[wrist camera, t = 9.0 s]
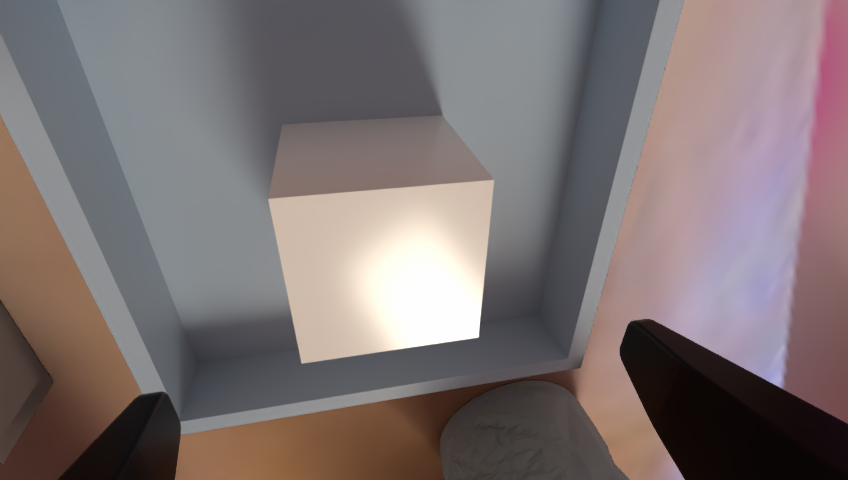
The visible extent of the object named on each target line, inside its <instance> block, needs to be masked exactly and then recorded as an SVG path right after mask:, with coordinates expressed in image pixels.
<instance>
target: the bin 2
mask: <svg viewBox="0 0 848 480" xmlns="http://www.w3.org/2000/svg"><path fill="white" fill-rule="evenodd" d="M683 3H684V0H0V115H1V117H2V119H3V121H4V123H5V125H6V127H7V129H8V131H9V133H10V135H11V137H12V139H13V141H14V143H15V144H16V146H17V148H18V150H19V152H20V154H21V156H22V158H23V160H24V162H25V164H26V166H27V168H28V170H29V172H30V174H31V176H32V178H33V180H34V182H35V184H36V186H37V188H38V190H39V192H40V194H41V196H42V198H43V200H44V201H45V203H46V205H47V207H48V209H49V211H50V213H51V215H52V217H53V219H54V221H55V223H56V225H57V227H58V229H59V231H60V233H61V235H62V237H63V239H64V241H65V243H66V245H67V247H68V249H69V251H70V253H71V255H72V257H73V258H74V260H75V262H76V264H77V266H78V268H79V270H80V272H81V274H82V276H83V278H84V280H85V282H86V284H87V286H88V288H89V290H90V292H91V294H92V296H93V298H94V300H95V302H96V304H97V306H98V308H99V310H100V312H101V313H102V315H103V317H104V319H105V321H106V323H107V325H108V327H109V329H110V331H111V333H112V335H113V337H114V339H115V341H116V343H117V345H118V347H119V349H120V351H121V353H122V355H123V357H124V359H125V361H126V363H127V365H128V367H129V369H130V370H131V372H132V374H133V376H134V378H135V380H136V382H137V384H138V386H139V388H140V390H141V392H142V394H147V393H154V392H160V391H162V392H166V393H167V394H168V395H169V397H170V399H171V402H172V404H173V406H174V408H175V410H176V412H177V414H178V417H179V419H180V423H181V435H184V434H190V433H196V432H202V431H208V430H213V429H219V428H225V427H231V426H237V425H243V424H249V423H255V422H261V421H267V420H273V419H279V418H285V417H291V416H297V415H303V414H309V413H315V412H320V411H326V410H332V409H338V408H344V407H350V406H356V405H362V404H368V403H374V402H380V401H386V400H392V399H398V398H404V397H410V396H416V395H422V394H427V393H433V392H439V391H445V390H451V389H457V388H463V387H469V386H475V385H481V384H487V383H493V382H499V381H505V380H511V379H517V378H523V377H529V376H534V375H540V374H546V373H552V372H558V371H564V370H570V369H576V368H581V364H582V361H583V357H584V353H585V350H586V346H587V343H588V339H589V336H590V332H591V329H592V325H593V322H594V318H595V315H596V311H597V307H598V304H599V300H600V297H601V293H602V290H603V286H604V283H605V279H606V276H607V272H608V269H609V265H610V261H611V258H612V254H613V251H614V247H615V244H616V240H617V237H618V233H619V230H620V226H621V223H622V219H623V215H624V212H625V208H626V205H627V201H628V198H629V194H630V191H631V187H632V184H633V180H634V177H635V173H636V170H637V166H638V162H639V159H640V155H641V152H642V148H643V145H644V141H645V138H646V134H647V131H648V127H649V124H650V120H651V116H652V113H653V109H654V106H655V102H656V99H657V95H658V92H659V88H660V85H661V81H662V78H663V74H664V70H665V67H666V63H667V60H668V56H669V53H670V49H671V46H672V42H673V39H674V35H675V32H676V28H677V24H678V21H679V17H680V14H681V10H682V7H683ZM439 115H443V116H444V118H445V119H446V120H447V121H448V123H449V124H450V125H451V126H452V128H453V129H454V130H455V131H456V133H457V134H458V135H459V136H460V138H461V139H462V140H463V141H464V143H465V144H466V145H467V146H468V148H469V149H470V150H471V151H472V153H473V154H474V155H475V156H476V158H477V159H478V160H479V161H480V163H481V164H482V165H483V166H484V168H485V169H486V170H487V171H488V173H489V174H490V175H491V176H492V178H493V179H494V187H493V197H492V207H491V217H490V227H489V237H488V247H487V257H486V267H485V277H484V287H483V297H482V307H481V317H480V327H479V337H478V338H472V339H465V340H458V341H451V342H445V343H438V344H431V345H424V346H418V347H411V348H404V349H397V350H391V351H384V352H377V353H370V354H364V355H357V356H350V357H343V358H337V359H330V360H323V361H316V362H310V363H303V364H302V363H301V358H300V353H299V348H298V343H297V339H296V334H295V329H294V324H293V319H292V314H291V309H290V304H289V299H288V294H287V289H286V284H285V280H284V275H283V270H282V265H281V260H280V255H279V250H278V245H277V240H276V235H275V230H274V225H273V221H272V216H271V211H270V206H269V201H268V197H269V191H270V186H271V181H272V176H273V170H274V165H275V160H276V154H277V149H278V144H279V139H280V133H281V128H282V124H297V123H314V122H332V121H350V120H368V119H385V118H403V117H421V116H439Z"/></svg>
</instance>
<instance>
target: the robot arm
mask: <svg viewBox="0 0 848 480" xmlns="http://www.w3.org/2000/svg"><path fill="white" fill-rule="evenodd" d="M620 357H621V360H622V362H623V364H624V366H625V369H626V371H627V373H628V375H629V377H630V379H631V381H632V383H633V385H634V388H635V390H636V392H637V394H638V396H639V398H640V400H641V402H642V404H643V407H644V409H645V411H646V413H647V415H648V417H649V419H650V421H651V423H652V425H653V427H654V428H655V430H656V432H657V434H658V435H659V437H660V439H661V441H662V442H663V444H664V446H665V447H666V449H667V451H668V452H669V454H670V456H671V457H672V459H673V461H674V462H675V464H676V466H677V467H678V469H679V471H680V472H681V474H682V476H683V477H684V479H685V480H848V424H847V423H845V422H844V421H842V420H840V419H838V418H836V417H834V416H832V415H830V414H828V413H827V412H825V411H823V410H821V409H819V408H817V407H815V406H814V405H812V404H810V403H808V402H806V401H804V400H802V399H800V398H798V397H797V396H795V395H793V394H791V393H789V392H787V391H785V390H783V389H782V388H780V387H778V386H776V385H774V384H772V383H770V382H768V381H766V380H765V379H763V378H761V377H759V376H757V375H755V374H753V373H751V372H750V371H748V370H746V369H744V368H742V367H740V366H738V365H736V364H734V363H733V362H731V361H729V360H727V359H725V358H723V357H721V356H719V355H718V354H716V353H714V352H712V351H710V350H708V349H706V348H704V347H703V346H701V345H699V344H697V343H695V342H693V341H691V340H689V339H687V338H686V337H684V336H682V335H680V334H678V333H676V332H674V331H672V330H671V329H669V328H667V327H665V326H663V325H661V324H659V323H657V322H655V321H653V320H651V319H642V320H635V321H631V322H630V323H629V324H628V326H627V329H626V332H625V335H624V338H623V340H622V343H621V346H620ZM180 436H181V423H180V419H179V417H178V414H177V412H176V410H175V408H174V406H173V404H172V402H171V399H170V397H169V395H168V394H167V393H166V392H162V391H160V392H154V393H147V394H142V395H139V396H138V397H137V398H135V399H134V400H133V401H132V402H131V403H130V404H129V405H128V406H127V408H126V409H125V410H124V411H123V412H122V413H121V414H120V415H119V416H118V417H117V418H116V419H115V420H114V421H113V422H112V423H111V424H110V425H109V426H108V427H107V428H106V429H105V430H104V432H103V433H102V434H101V435H100V436H99V437H98V438H97V439H96V440H95V441H94V442H93V443H92V444H91V445H90V446H89V447H88V448H87V449H86V450H85V451H84V452H83V453H82V455H81V456H80V457H79V458H78V459H77V460H76V461H75V462H74V463H73V464H72V465H71V466H70V467H69V468H68V469H67V470H66V471H65V472H64V473H63V474H62V475H61V476H60V477H59V479H58V480H175V474H176V467H177V459H178V451H179V444H180Z"/></svg>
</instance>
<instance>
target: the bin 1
mask: <svg viewBox="0 0 848 480" xmlns="http://www.w3.org/2000/svg"><path fill="white" fill-rule="evenodd" d="M52 384H53V381H52V379H51V377H50V376H49V374H48V373H47V371H46V370H45V368H44V367H43V365H42V364H41V362H40V361H39V359H38V358H37V356H36V355H35V353H34V352H33V350H32V349H31V347H30V346H29V344H28V343H27V341H26V339H25V338H24V336H23V335H22V333H21V332H20V330H19V329H18V327H17V326H16V324H15V323H14V321H13V320H12V318H11V317H10V315H9V314H8V312H7V311H6V309H5V308H4V306H3V305H2V303H1V301H0V465H3V464H4V462H5V461H6V459H7V457H8V456H9V454H10V452H11V451H12V449H13V447H14V446H15V444H16V443H17V441H18V439H19V438H20V436H21V434H22V433H23V431H24V429H25V428H26V426H27V425H28V423H29V421H30V420H31V418H32V416H33V415H34V413H35V411H36V410H37V408H38V407H39V405H40V403H41V402H42V400H43V398H44V397H45V395H46V393H47V392H48V390H49V389H50V387H51V385H52Z"/></svg>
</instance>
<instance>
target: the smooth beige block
mask: <svg viewBox="0 0 848 480" xmlns="http://www.w3.org/2000/svg"><path fill="white" fill-rule="evenodd" d="M493 187H494V179H493V178H492V176H491V175H490V174H489V173H488V171H487V170H486V169H485V168H484V166H483V165H482V164H481V163H480V161H479V160H478V159H477V158H476V156H475V155H474V154H473V153H472V151H471V150H470V149H469V148H468V146H467V145H466V144H465V143H464V141H463V140H462V139H461V138H460V136H459V135H458V134H457V133H456V131H455V130H454V129H453V128H452V126H451V125H450V124H449V123H448V121H447V120H446V119H445V118H444V116H443V115H439V116H421V117H403V118H385V119H368V120H350V121H332V122H314V123H297V124H282V128H281V133H280V139H279V144H278V149H277V154H276V160H275V165H274V170H273V176H272V181H271V186H270V191H269V197H268V201H269V206H270V211H271V216H272V221H273V225H274V230H275V235H276V240H277V245H278V250H279V255H280V260H281V265H282V270H283V275H284V280H285V284H286V289H287V294H288V299H289V304H290V309H291V314H292V319H293V324H294V329H295V334H296V339H297V343H298V348H299V353H300V358H301V363H302V364H303V363H310V362H316V361H323V360H330V359H337V358H343V357H350V356H357V355H364V354H370V353H377V352H384V351H391V350H397V349H404V348H411V347H418V346H424V345H431V344H438V343H445V342H451V341H458V340H465V339H472V338H478V337H479V327H480V317H481V307H482V297H483V287H484V277H485V267H486V257H487V247H488V237H489V227H490V217H491V207H492V197H493Z"/></svg>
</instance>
